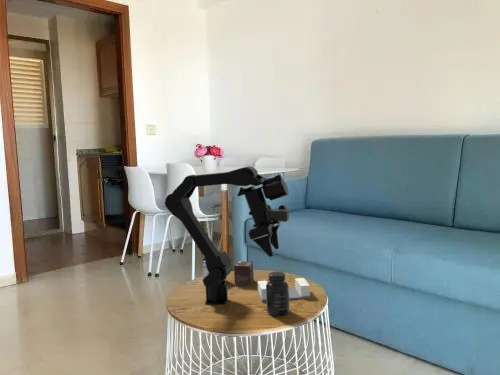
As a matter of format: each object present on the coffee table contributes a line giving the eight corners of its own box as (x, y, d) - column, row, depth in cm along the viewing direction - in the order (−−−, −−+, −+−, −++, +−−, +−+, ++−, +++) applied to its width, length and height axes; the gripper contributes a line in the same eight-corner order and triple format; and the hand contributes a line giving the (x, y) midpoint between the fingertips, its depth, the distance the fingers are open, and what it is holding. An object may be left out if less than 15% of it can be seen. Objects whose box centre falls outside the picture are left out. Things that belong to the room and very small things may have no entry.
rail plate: (261, 302, 135) (261, 289, 134) (257, 292, 144) (257, 280, 143) (310, 298, 137) (310, 286, 136) (303, 288, 146) (303, 277, 145)
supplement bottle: (263, 309, 129) (262, 271, 127) (284, 306, 131) (283, 269, 129) (271, 318, 122) (270, 278, 121) (293, 314, 124) (292, 275, 123)
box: (250, 286, 150) (250, 266, 150) (234, 285, 152) (233, 265, 151) (254, 280, 156) (253, 261, 155) (238, 280, 157) (237, 261, 157)
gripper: (275, 201, 119) (294, 253, 120) (286, 193, 137) (302, 238, 137) (240, 213, 122) (258, 263, 123) (255, 203, 140) (271, 247, 141)
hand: (274, 252), depth 131 cm, fingers open, 9 cm apart
